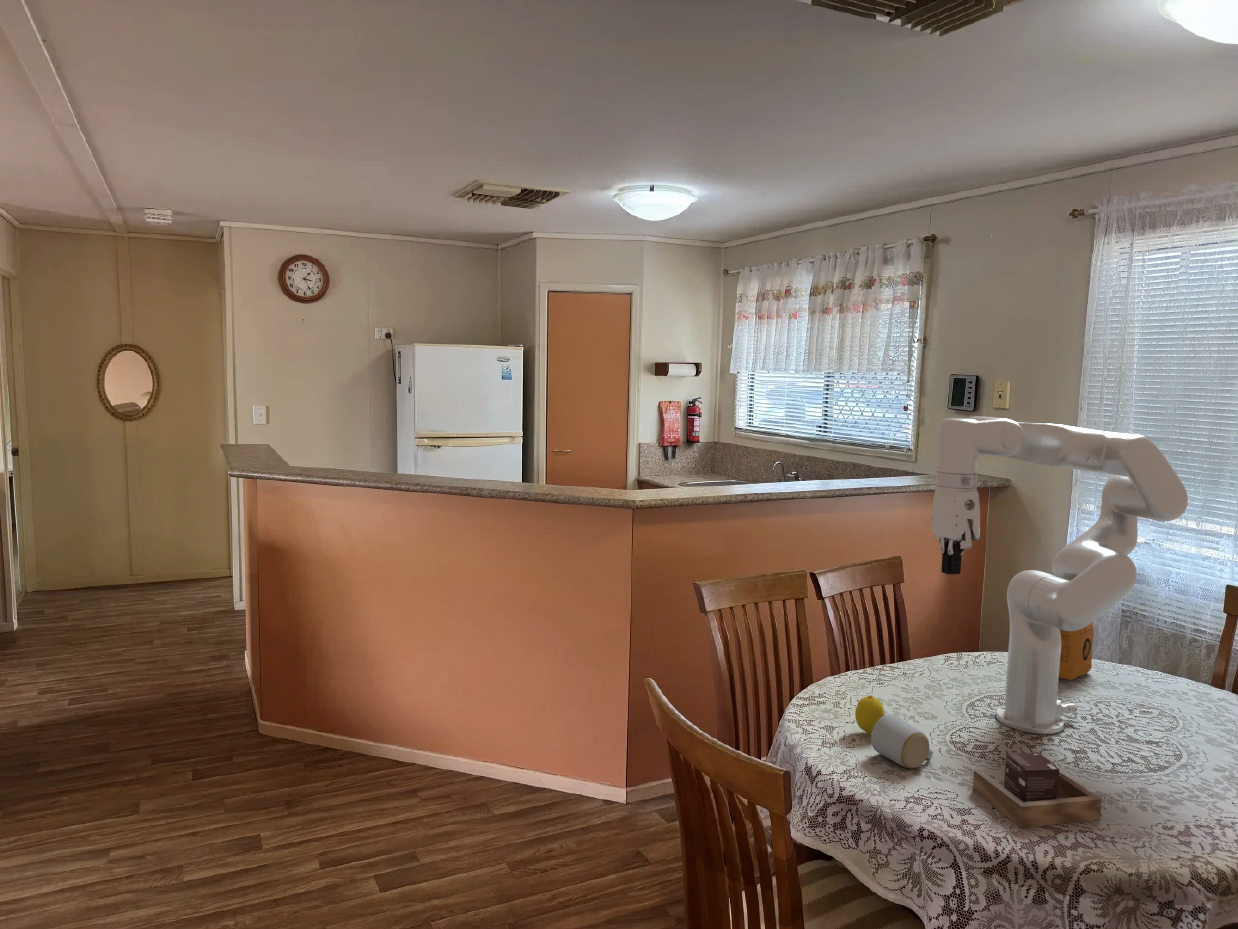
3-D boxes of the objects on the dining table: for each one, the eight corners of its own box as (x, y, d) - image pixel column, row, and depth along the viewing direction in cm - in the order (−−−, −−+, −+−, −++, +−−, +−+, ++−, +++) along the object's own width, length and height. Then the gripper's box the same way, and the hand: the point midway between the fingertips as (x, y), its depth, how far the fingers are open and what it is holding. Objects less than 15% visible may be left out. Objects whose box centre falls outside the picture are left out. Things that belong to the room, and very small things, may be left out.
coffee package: (1098, 675, 200) (1105, 586, 198) (1071, 685, 194) (1078, 593, 191) (1057, 663, 209) (1063, 577, 206) (1030, 672, 202) (1036, 583, 199)
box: (1002, 793, 142) (1005, 752, 141) (1035, 792, 143) (1038, 751, 142) (1022, 812, 136) (1025, 769, 135) (1057, 811, 137) (1060, 768, 136)
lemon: (885, 741, 162) (887, 702, 161) (855, 738, 163) (857, 699, 162) (882, 730, 167) (883, 691, 166) (853, 727, 168) (855, 689, 168)
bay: (1046, 783, 146) (1047, 764, 146) (1099, 819, 134) (1101, 799, 134) (972, 789, 143) (973, 770, 143) (1020, 828, 131) (1022, 806, 131)
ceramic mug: (902, 775, 148) (905, 733, 148) (868, 756, 156) (871, 716, 155) (943, 763, 153) (946, 723, 153) (909, 746, 161) (912, 707, 160)
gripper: (997, 486, 156) (991, 581, 158) (951, 476, 171) (946, 564, 173) (961, 486, 155) (956, 583, 157) (917, 477, 170) (913, 565, 172)
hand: (950, 573), depth 165 cm, fingers closed
